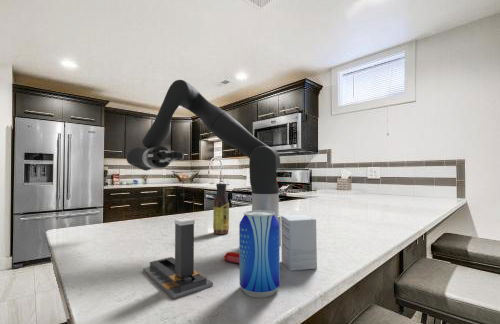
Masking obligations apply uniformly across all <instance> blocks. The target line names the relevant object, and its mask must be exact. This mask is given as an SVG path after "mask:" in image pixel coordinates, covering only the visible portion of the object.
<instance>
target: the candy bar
mask: <svg viewBox="0 0 500 324" xmlns="http://www.w3.org/2000/svg"><path fill="white" fill-rule="evenodd" d="M222 259H224V260H225V261H226V262H229V263H230V262H231V263H236V264H240V263H239V252H238V251H227V252H226V253H225V254H224V256H223V257H222Z"/></svg>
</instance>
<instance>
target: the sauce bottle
mask: <svg viewBox="0 0 500 324" xmlns="http://www.w3.org/2000/svg"><path fill="white" fill-rule="evenodd" d="M215 186H216V196H215V197H214V200H213V213H212V214H213V221H212V225H213V226H212V228H213V234H215V235H227V234H228V233H229V229H230V201H229V199H228V196H227V183H216V185H215Z"/></svg>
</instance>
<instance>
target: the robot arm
mask: <svg viewBox="0 0 500 324" xmlns="http://www.w3.org/2000/svg"><path fill="white" fill-rule="evenodd" d="M179 106H180V107H181V108H184V109H186V110H188V111H189V112H191V113H192V114H194V115H195V116H196V117H198V118H199V119H200V120H201V121H202V123H203V124H204V126H205V127H206V129H208V130H209V131H210V133H212V134H213V135H214V136H215V137H217V138H218V139H219V140H221V141H222V142H223V143H225V144H227V145H228V146H230V147H232V148H234V149H236V150H238V151H240V152H241V153H242V154H243V155H245V156H246V157H247V158H248V159H249V184H250V187H251V211H255V210H263V211H272V212H274V213H275V215H274V216H275V217H276V219H277V221H278V222H279V246H282V238H281V216H280V206H279V205H280V203H279V199H280V197H279V196H280V194H279V193H280V192H279V184H278V182H277V170H278V169H279V168H280V166H281V157H280V154H279V152H278V151H277V150H276V149H274V148H273V147H270V146H269V145H267V144H266V143H264V142H263V141H261V140H259V139H258V138H257V137H255V136H254V135H252V133H251V132H250V131H249V130H248V129H246V128H245V127H244V126H243V125H242V124H241V123H240V122H239V121H238V120H236V119H235V118H234V117H233V116H231V115H230V114H229V113H227V112H226V111H225V110H223V109H222V108H220V107H218V106H217V105H215V104H213V103H211V102H210V101H209V100H208V99H207V98H206V97H205V96H203V95H202V93H200V91H198V89H197V88H195V87H194V86H193V85H191V84H190V83H189V82H187V81H185V80H182V79H177V80H175V81H173V82H172V83H171V84H170V86H169V87H168V89H167V91H166V93H165V96H164V99H163V101H162V103H161V105H160V108H159V110H158V113H157V114H156V118H155V119H154V121H153V123H152V124H151V127H149V129H148V131H147V133H145V136H144V137H143V138H142V141H141V142H142V145H143V146H144V147H145V148H142V147H134V148H131V149H130V150H128V152H127V153H126V162H127V163H128V164H129V165H131V166H133V167H135V168H138V169H139V170H142V171H145V172H146V171H150V170H151V169H162V168H163V169H164V168H166V167H168V166H169V165H170V164H171V163H172V162H175V161H176V160H178V161H180V162H181V161H185V153H184V152H181V151H178V150H177V151H175V150H170V149H169V148H167V147H166V146H162V145H163V143H164V141H165V140H166V139H167V137H168V135H169V132H170V129H171V124H172V119H173V116H174V114H175V112H176V111H177V110H178V108H179Z"/></svg>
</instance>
